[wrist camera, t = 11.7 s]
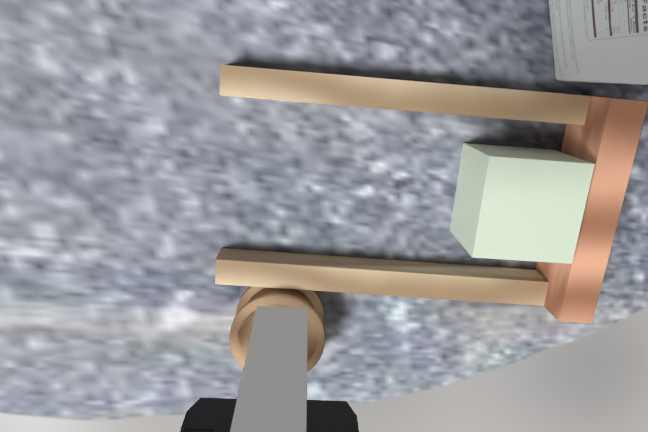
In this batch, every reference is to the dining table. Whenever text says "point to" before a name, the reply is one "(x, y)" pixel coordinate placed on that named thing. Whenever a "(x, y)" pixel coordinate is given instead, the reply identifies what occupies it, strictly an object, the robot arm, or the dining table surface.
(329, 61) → the dining table surface
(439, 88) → the track
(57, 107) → the dining table surface
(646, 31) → the supplement box
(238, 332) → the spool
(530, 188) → the pale green block
